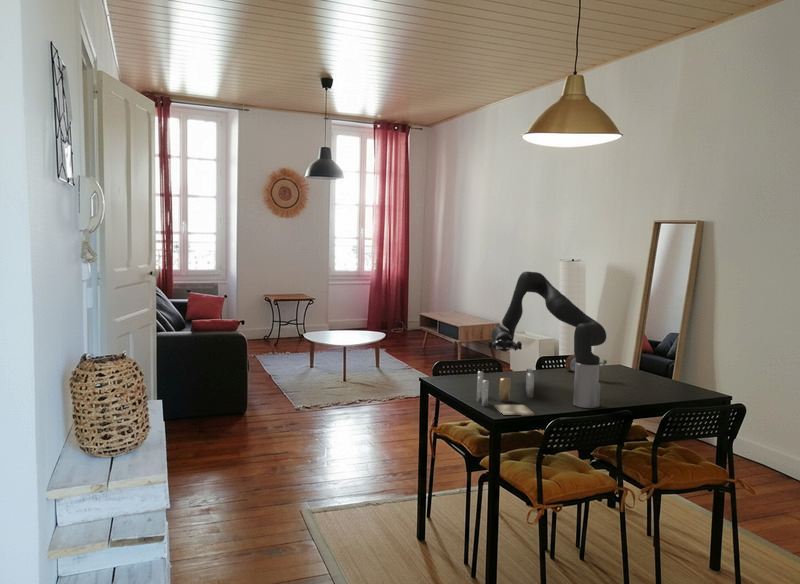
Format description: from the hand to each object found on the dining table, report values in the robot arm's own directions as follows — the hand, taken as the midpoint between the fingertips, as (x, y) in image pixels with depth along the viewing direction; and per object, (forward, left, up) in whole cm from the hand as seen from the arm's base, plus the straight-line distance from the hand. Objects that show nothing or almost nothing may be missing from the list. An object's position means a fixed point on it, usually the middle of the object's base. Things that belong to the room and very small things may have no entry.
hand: (505, 347), depth 257 cm
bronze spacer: (+3, +11, -20) cm, 23 cm away
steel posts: (+1, +8, -20) cm, 21 cm away
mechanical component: (-53, -26, -20) cm, 63 cm away
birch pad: (+4, +26, -20) cm, 33 cm away
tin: (-53, -46, -20) cm, 73 cm away
